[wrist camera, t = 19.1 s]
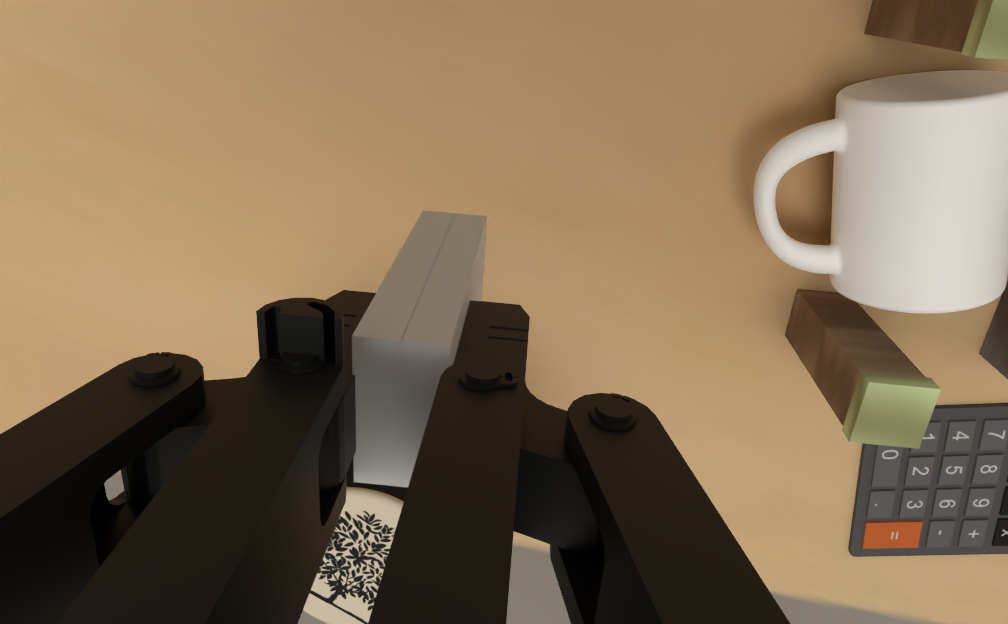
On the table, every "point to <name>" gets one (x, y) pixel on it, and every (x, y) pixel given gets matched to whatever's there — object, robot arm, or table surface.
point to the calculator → (937, 488)
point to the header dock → (841, 321)
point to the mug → (906, 191)
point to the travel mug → (356, 553)
